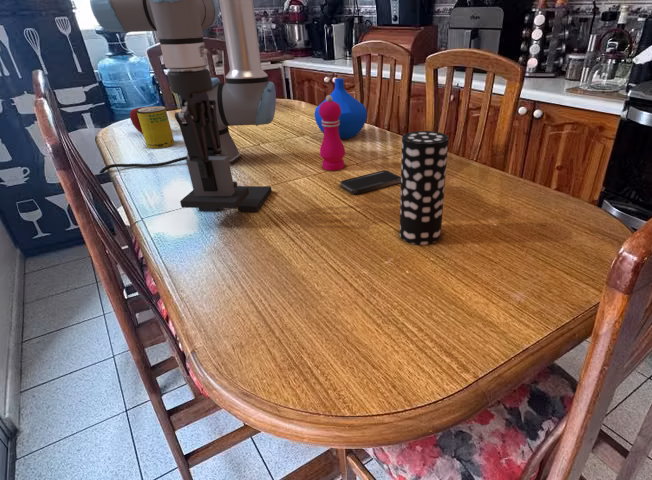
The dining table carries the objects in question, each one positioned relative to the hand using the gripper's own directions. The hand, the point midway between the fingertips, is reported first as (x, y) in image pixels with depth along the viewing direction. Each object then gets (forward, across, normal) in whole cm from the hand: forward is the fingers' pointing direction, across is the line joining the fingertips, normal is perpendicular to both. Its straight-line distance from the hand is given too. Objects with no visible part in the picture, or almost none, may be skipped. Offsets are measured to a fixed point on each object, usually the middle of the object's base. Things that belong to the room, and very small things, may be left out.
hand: (213, 187), depth 89 cm
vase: (+7, +68, -18) cm, 71 cm away
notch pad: (+8, +10, 0) cm, 13 cm away
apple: (+7, +70, +56) cm, 90 cm away
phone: (+8, +22, -32) cm, 40 cm away
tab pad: (+3, +2, 0) cm, 4 cm away
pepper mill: (+8, +35, -20) cm, 41 cm away
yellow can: (+7, +56, +44) cm, 72 cm away
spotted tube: (+8, -4, -44) cm, 45 cm away
